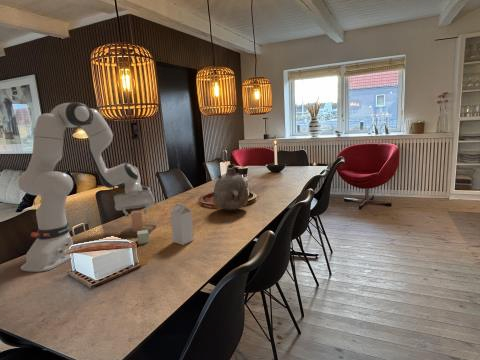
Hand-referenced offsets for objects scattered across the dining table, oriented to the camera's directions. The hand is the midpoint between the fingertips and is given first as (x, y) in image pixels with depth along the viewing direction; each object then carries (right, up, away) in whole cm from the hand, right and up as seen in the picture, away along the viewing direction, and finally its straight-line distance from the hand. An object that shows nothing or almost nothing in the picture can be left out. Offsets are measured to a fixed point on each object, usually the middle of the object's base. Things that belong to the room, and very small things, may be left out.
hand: (136, 214), depth 165 cm
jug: (+50, -2, +32) cm, 59 cm away
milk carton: (+27, -12, -13) cm, 32 cm away
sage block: (+7, -12, -11) cm, 18 cm away
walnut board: (0, -10, +2) cm, 10 cm away
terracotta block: (0, -8, +2) cm, 9 cm away
